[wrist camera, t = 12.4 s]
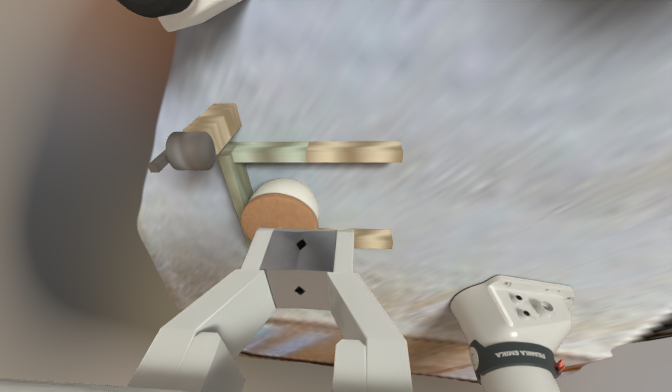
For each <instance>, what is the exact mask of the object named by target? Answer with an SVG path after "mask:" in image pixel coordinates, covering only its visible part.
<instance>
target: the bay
mask: <svg viewBox="0 0 672 392" xmlns="http://www.w3.org/2000/svg"><path fill="white" fill-rule="evenodd" d="M217 157H218V160H219V163H220V166H221V169H222V172H223V175H224V178H225V180H226V183H227V186H228V189H229V192H230V195H231V198H232V201H233V204H234V207H235V210H236V213H237V216H238V219H239V222H240V225H241V228H242V224H241V215H242V212H243V210H244V208H245V206H246V205H247V203H248V202H249V200H250V198H251V197H252V195H253V191H252V188H251V184H250V181H249V177H248V173H247V170H246V166H245V162H402V158H403V150H402V145H401V141H373V142H229V143H228V144H227V145H226V146H225V148H224V149H223V150H222V151H221V153H220V154H219V155H218V156H217ZM318 229H329V228H318ZM333 230H338V229H333ZM340 230H354V248H370V249H392V246H393V240H392V231H391V230H379V229H340ZM242 231H243V234H244V237H245V240H246V243H247V246H248V249H249V247H250V245H251V242H252V240H250V239H249V237H248V236H247V235H246V233H245V232H244V230H243V228H242Z"/></svg>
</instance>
